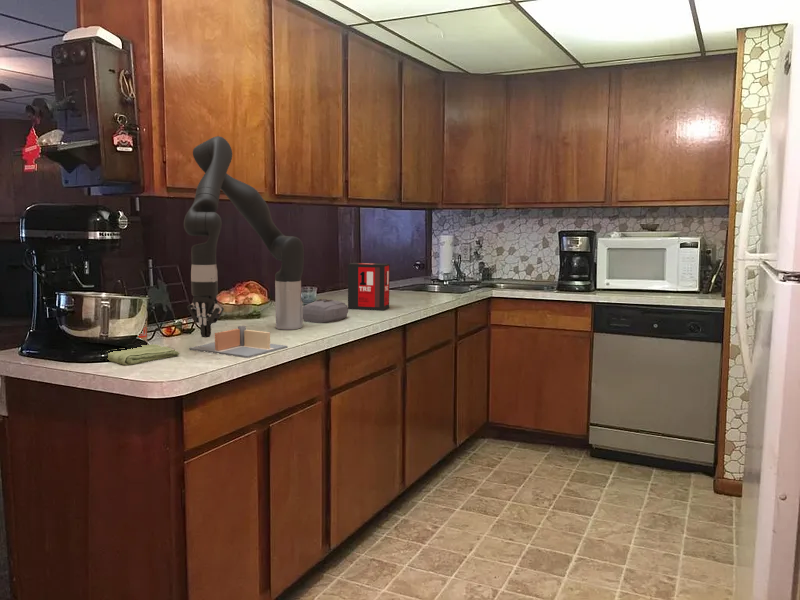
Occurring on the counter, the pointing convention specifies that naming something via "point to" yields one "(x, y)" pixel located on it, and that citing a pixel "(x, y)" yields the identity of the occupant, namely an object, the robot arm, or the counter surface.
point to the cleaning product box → (368, 286)
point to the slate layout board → (245, 344)
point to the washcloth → (141, 354)
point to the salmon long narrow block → (227, 339)
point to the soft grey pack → (324, 311)
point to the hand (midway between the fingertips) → (205, 337)
